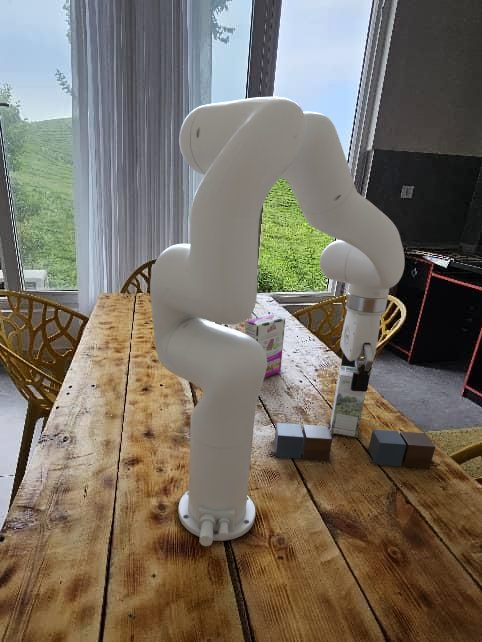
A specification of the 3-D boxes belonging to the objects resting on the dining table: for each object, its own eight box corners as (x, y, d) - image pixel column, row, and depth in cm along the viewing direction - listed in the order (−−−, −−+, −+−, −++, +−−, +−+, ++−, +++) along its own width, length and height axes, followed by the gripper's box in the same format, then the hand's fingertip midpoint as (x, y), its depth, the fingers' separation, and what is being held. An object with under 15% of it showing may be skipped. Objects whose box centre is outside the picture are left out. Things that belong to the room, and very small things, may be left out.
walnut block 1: (328, 460, 88) (332, 439, 86) (303, 459, 88) (306, 437, 86) (324, 446, 93) (327, 426, 91) (300, 445, 93) (303, 424, 91)
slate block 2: (401, 466, 87) (406, 444, 85) (375, 464, 87) (379, 442, 86) (392, 451, 92) (397, 431, 90) (368, 450, 92) (372, 429, 90)
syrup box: (356, 425, 101) (367, 367, 96) (357, 439, 96) (369, 378, 90) (330, 421, 102) (339, 363, 97) (329, 434, 97) (340, 374, 92)
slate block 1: (300, 458, 88) (303, 437, 86) (275, 456, 89) (278, 435, 87) (297, 444, 93) (300, 424, 91) (273, 443, 93) (276, 422, 91)
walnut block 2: (429, 468, 87) (435, 446, 85) (403, 466, 87) (408, 444, 85) (420, 454, 91) (425, 433, 90) (395, 452, 92) (400, 431, 90)
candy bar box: (267, 367, 131) (273, 313, 125) (280, 372, 128) (286, 318, 122) (240, 376, 125) (245, 320, 119) (253, 382, 121) (258, 325, 115)
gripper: (338, 291, 97) (327, 363, 103) (357, 314, 81) (343, 398, 87) (373, 293, 96) (360, 365, 103) (399, 316, 80) (382, 400, 87)
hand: (352, 380), depth 95 cm, fingers open, 9 cm apart
